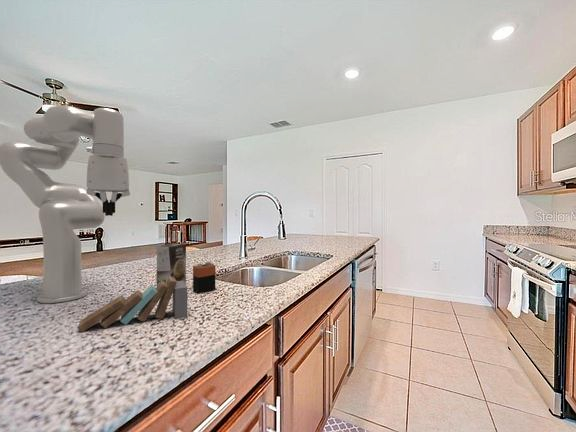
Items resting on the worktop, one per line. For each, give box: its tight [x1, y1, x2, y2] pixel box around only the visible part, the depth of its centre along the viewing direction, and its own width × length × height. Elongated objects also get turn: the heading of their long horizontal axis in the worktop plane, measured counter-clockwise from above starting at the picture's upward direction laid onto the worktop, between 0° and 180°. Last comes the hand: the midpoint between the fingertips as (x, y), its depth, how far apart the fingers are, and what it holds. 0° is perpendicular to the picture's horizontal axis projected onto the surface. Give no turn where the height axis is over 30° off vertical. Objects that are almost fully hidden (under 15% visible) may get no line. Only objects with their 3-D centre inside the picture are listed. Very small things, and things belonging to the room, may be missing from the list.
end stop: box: [171, 281, 188, 320], centre depth 76 cm, size 3×8×8 cm, turn 28°
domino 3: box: [120, 284, 157, 326], centre depth 71 cm, size 2×5×10 cm
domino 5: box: [154, 277, 177, 320], centre depth 74 cm, size 2×5×10 cm, turn 28°
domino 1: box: [77, 294, 127, 333], centre depth 67 cm, size 2×5×10 cm
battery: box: [192, 261, 216, 294], centre depth 97 cm, size 4×7×10 cm, turn 137°
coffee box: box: [156, 243, 187, 287], centre depth 100 cm, size 9×6×16 cm
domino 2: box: [100, 289, 143, 329], centre depth 69 cm, size 2×5×10 cm
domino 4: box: [137, 280, 168, 323], centre depth 73 cm, size 2×5×10 cm
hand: (109, 215), depth 80 cm, fingers closed
